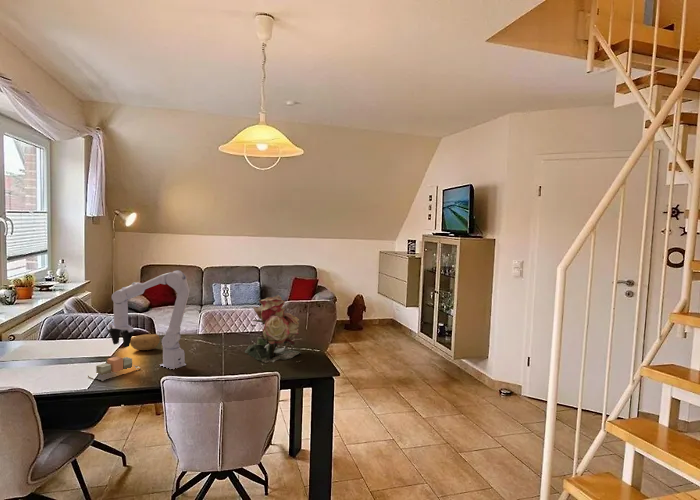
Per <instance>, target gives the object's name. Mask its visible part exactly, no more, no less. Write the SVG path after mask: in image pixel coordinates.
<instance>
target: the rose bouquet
mask: <svg viewBox="0 0 700 500" xmlns="http://www.w3.org/2000/svg"><path fill="white" fill-rule="evenodd" d="M282 298H283V297H282V296H281V295H279V294H276V295H275V296H269V297H265V298H264V299H258V300H257V301H258V302H259V304H260V305H259V306H252V308H253V311H254V313H256V315H257V317H258V319H253V320H251V322H256V323H261V325H264V327H263V329H262V334H261V335H260V336H259V334H258V335H257V337H256V339H257V341H256V342H254V343H252V344H250V345H248V346H247V348H246V349H245V350H244V353H246V354H247V355H248V356H250V357H252V358H254V359H255V360H257V361H260V362H262V363H264V364H265V363H271V362H272V363H273V364H275V363H274V362H275V361H278V360H289V359H292V358H294V357H295V356H297V355H301V354H302V353H301V352H300V351H297V350H293V349H292V350H291V349H288V348H287V344H289V345H290V346H291V347H293V348H295V341H293V340H292V338H295V337H296V336H297V335H299V331H300V330H299V329H298V328H299V327H300V326H299V325H300V322H299V321H300V319H299V318H298V317H296V316H295V315H293V314H291V313H289V312H285V311H286V309H285V307H284V304H285V303H286V301H285V300H283V299H282ZM239 325H240V326H241V324H239ZM251 326H252V327H256V326H257V325H256V324H252V325H251ZM290 338H291V339H290ZM280 344H284V347H281V348H280V347H277V346H278V345H280ZM274 356H276V357H274ZM272 359H273V360H272ZM269 361H270V362H269Z"/></svg>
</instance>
